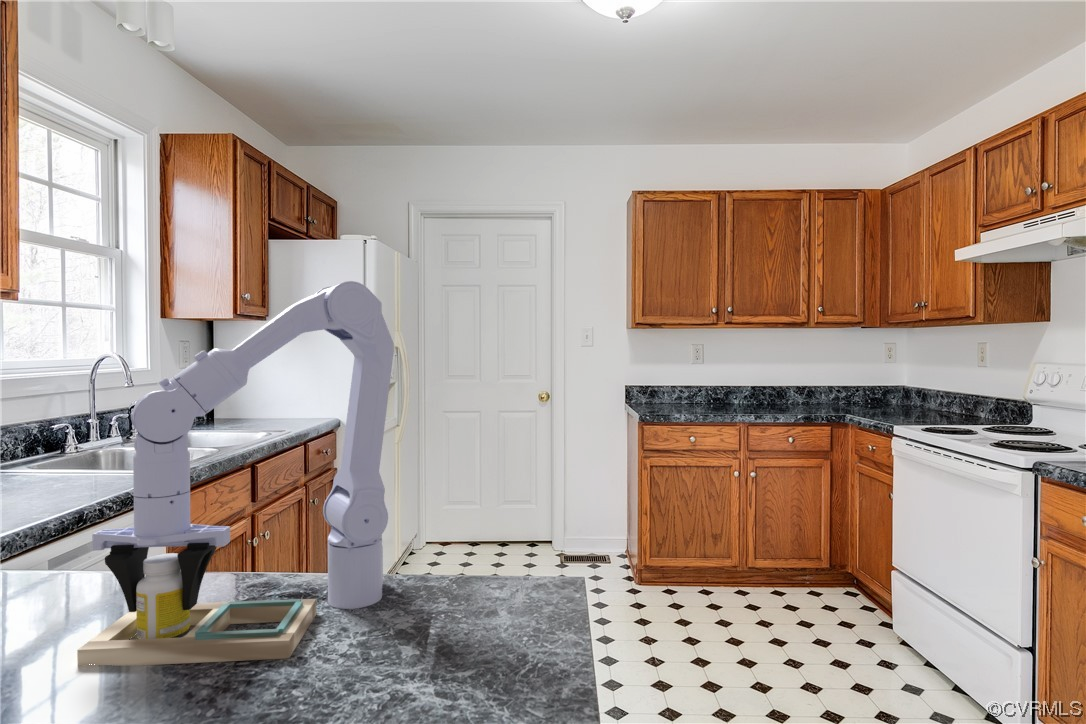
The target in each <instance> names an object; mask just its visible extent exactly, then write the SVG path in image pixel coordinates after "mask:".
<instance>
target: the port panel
mask: <svg viewBox="0 0 1086 724" xmlns="http://www.w3.org/2000/svg"><path fill="white" fill-rule="evenodd" d="M317 610H318V609H317V598H306V599H304V598H303V599H302V598H297V599H296V598H294V599H293V598H292V599H291V598H290V599H270V600H269V599H267V600H243V601H241V600H239V601H224V602H220V601H219V602H201V603H200V602H199V603H198V602H197V604H196V605H195V606H193V607H192V608H191V609H190V627H191V626H193V628H192V629H190V632H189V633H188V634H187V635H186V636H185V637H181V638H158V639H137V638H136V639H132V638H134V637H135V636H136V635H137V634H136V633H137V611H136V612H129V611H128V612H126V613H125V614H124V615H122V616H121V617H120V618H118V619H117V620H116V621H115V622H113V623H112V624H111V625H109V626H108V627H106V628H105V629H103V630H102V631H101V632H99V633H98V634H97V635H95V636H94V637H93V638H91V639H90V640H89V641H88V642H86V643H85V644H83V645H82V646H81V647H79V648H78V649H77V650H76V651H77V654H76V655H77V666H78V667H81V665H89V664H90V665H91V664H92V665H94V664H95V665H109V666H110V665H112V666H113V665H114V666H155V665H157V666H158V665H171V664H172V665H173V664H175V665H178V664H196V663H197V664H198V663H200V664H201V663H218V662H238V661H242V662H243V661H259V660H282V659H285V660H286V659H290V658H291V656H292V655H293V653H294V651H295V650H296V649H297V646H298V645H299V644H300V642H301V640H302V638H303V636H304V635H305V633H306V632H307V631H308V629H309V627H310V625H311V624H312V622H313V621H314V619H315V617H316V615H317ZM261 623H279V624H278V625H277V627H276V628H271V629H270V628H269V629H267V628H266V629H248V630H247V629H246V630H245V629H244V630H226V629H227V628H228V627H229V626H230V625H235V624H237V625H238V624H239V625H241V624H261ZM135 634H136V635H135ZM134 635H135V636H134ZM133 636H134V637H133ZM131 637H132V638H131ZM130 638H131V639H130ZM129 639H130V640H129ZM79 665H80V666H79ZM112 666H111V667H112ZM114 666H113V667H114Z"/></svg>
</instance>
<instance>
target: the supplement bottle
mask: <svg viewBox="0 0 1086 724" xmlns="http://www.w3.org/2000/svg"><path fill="white" fill-rule="evenodd" d="M178 554H179V553H175V552H171V553H170V552H169V553H162V554H161V553H160V554H156V555H155V554H154V555H153V556H152V555H151V556H149V557H147V559H145V560H144V561H143V571H144V572H143V573H144V574H145V577H144V578H143V579H141V580H140V581H139V582H138V584H137V587H136V610H137V634H136V639H158V638H181V637H185V636H186V635H187V634H188V633H189V632H190V631H191V626H190V610H183V604H182V590H183V583H182V575H181V569H180V565H179V561H178Z"/></svg>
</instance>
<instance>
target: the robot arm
mask: <svg viewBox="0 0 1086 724" xmlns="http://www.w3.org/2000/svg"><path fill="white" fill-rule="evenodd" d="M382 306H383V305H382V301H380V299H379V298H378V297H377V296H376V295H375V294H374V293H373V292H372V291H371V290H370V289H369V288H368V286H366V285H364V284H363V283H360V282H358V281H353V280H349V281H343V282H340V283H339V284H337V285H333V286H326V287H322V288H321V289H319V290H318V291H316V293H315V294H312V295H309V296H307V297H305V298H302V299H300V300H299V301H297V302H295V303H293V304H292V305H290V306H288V307H287V308H285V309H284V310H283V311H282V312H280V313H279V314H277V315H276V316H275V317H273V318H272V319H270V321H268V322H266V324H264V325H263V326H261V327H260V328H258V329H257V330H256V331H255V332H253V333H252V334H251V335H249V336H247V338H245V340H242V342H240V343H239V344H238V345H236V346H235V347H234V348H232V349H224V348H218V347H217V348H212V349H211V350H209V351H208V352H206V350H201V351H199V352H198V353H197V354H195V355H194V359H195V361H194V362H192V363H191V364H190V365H188V366H187V367H186V368H184V369H183V370H181V371H179V372H178V373H176V374H175V375H174V376H173V377H171V378H170V379H168V378H167V377H163V378H161V380H159V381H158V385H159V386H160V387H161V388H162V389H163V390H153V391H151V392H148V393H146V394H144V395H142V396H141V397H140V398H139V399H138V400H137V401H136V403H135V404H134V407H133V409H132V413H131V414H130V420H131V424H132V425H133V427H134V429H135V430H136V431H137V432H138V433H136V434H135V439H134V441H133V447H134V451H135V453H134V455H133V457H132V458H133V460H132V461H133V462H132V463H133V467H132V468H133V473H132V476H133V479H132V480H133V527H132V526H131V527H122V528H120V527H119V528H110V529H109V528H108V529H107V528H106V529H101V530H99V531H96V532H94V533H92V539H91V540H92V541H91V543H92V551H104V550H105V549H110V551H109V554H108V555H106V556H105V557H104V564H105V566H107V568H108V569H109V570H110V571H111V572H112V574H113V575H114V578H115V579H116V581H117V582H118V584H119V587H120V589H121V591H122V594H123V597H124V598H125V602H126V605H127V608H128V609H127V610H128V612H136V611H137V610H136V587H137V584H138V582H139V581H140V580H141V579H143V578H144V577H146V575H145V574H144V573H143V572H144V571H143V561H144V560H145V559H147V558H148V554H149V549H150V548H166V547H169V548H170V547H173V548H174V547H186V549H184V550H181V552H179V553H177V554H178V561H179V565H180V571H181V575H182V583H183V590H182V604H183V610H190V609H191V608H192V607H193V606H195V605H196V604H197V603H198V598H199V593H200V590H201V586H202V582H203V580H204V579H203V578H204V575H205V573H206V570H207V568H208V566H209V563H210V561H211V559H212V557H213V555H214V554H215V552H216V549H217V548H223V547H225V546H226V545H228V544H229V543H230V542H231V526H230V525H229V526H228V525H227V526H226V525H207V524H195V523H191V520H192V519H191V452H190V451H189V445H188V444H189V442H188V441H189V440H188V439H189V438H188V437H189V436H188V433H189V432H190V431H191V429H192V427H193V425H194V422H195V418H197V417H198V418H199V417H200V418H201V417H204V416H205V415H207V414H208V413H209V412H211V411H212V410H213V409H215V408H216V407H217V406H219V405H221V404H222V403H223V402H224V401H226V400H227V399H228V398H230V397H231V396H233V395H234V394H235V393H237V392H238V391H239V390H241V389H242V388H243V387H245V386H246V385H247V382H248V375H249V371H250V369H252V368H253V367H254V366H256V365H258V364H259V363H261V361H264V360H265V359H266V358H269V356H271V355H272V354H274V353H275V352H277V351H278V350H280V349H282V348H283V347H284V346H286V345H287V344H288V343H290V342H291V341H293V340H295V339H296V338H297V337H299V336H300V335H302V334H306V333H310V332H311V333H312V332H317V331H323V330H324V331H326V332H327V333H329V334H331V335H332V336H334V337H336V338H338V339H339V340H340V342H341V343H342V344H343V345H344V346H345V347H346V348H347V349H348V350H349V352H351V354H352V355H353V357H354V358H353V364H352V365H353V366H352V375H351V382H350V389H349V391H350V392H349V399H348V406H347V413H346V422H345V429H344V437H343V446H342V454H341V460H340V461H341V462H340V467H339V469H338V470H337V472H336V474H335V475H334V476H333V481H332V488H331V490H330V493H329V494H328V495H327V497H326V499H325V500H324V504H323V507H322V514H323V517H324V520H325V522H326V523H327V524H328V525H329V527H330V528H331V529H330V532H329V534H328V536H327V603H328V605H329V606H331V607H333V608H335V609H343V610H344V609H345V610H352V609H361V608H365V607H369V606H371V605H375V604H376V603H379V602H380V601H381V599H382V598H383V585H384V555H383V554H384V549H383V548H384V547H383V534H384V531H386V528H387V526H388V523H389V522H388V521H389V512H388V509H387V506H386V503H385V492H386V491H385V490H386V489H385V485H384V482H383V479H382V476H381V472H380V465H381V459H382V458H381V457H382V449H383V444H384V443H383V442H384V441H383V440H384V433H385V427H386V426H385V425H386V417H387V408H388V400H389V394H390V393H389V392H390V384H391V377H392V369H393V362H394V361H393V360H394V352H395V345H394V341H393V338H392V336H391V332H390V331H389V328H388V325H387V323H386V320H385V317H384V315H383V309H382Z"/></svg>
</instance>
